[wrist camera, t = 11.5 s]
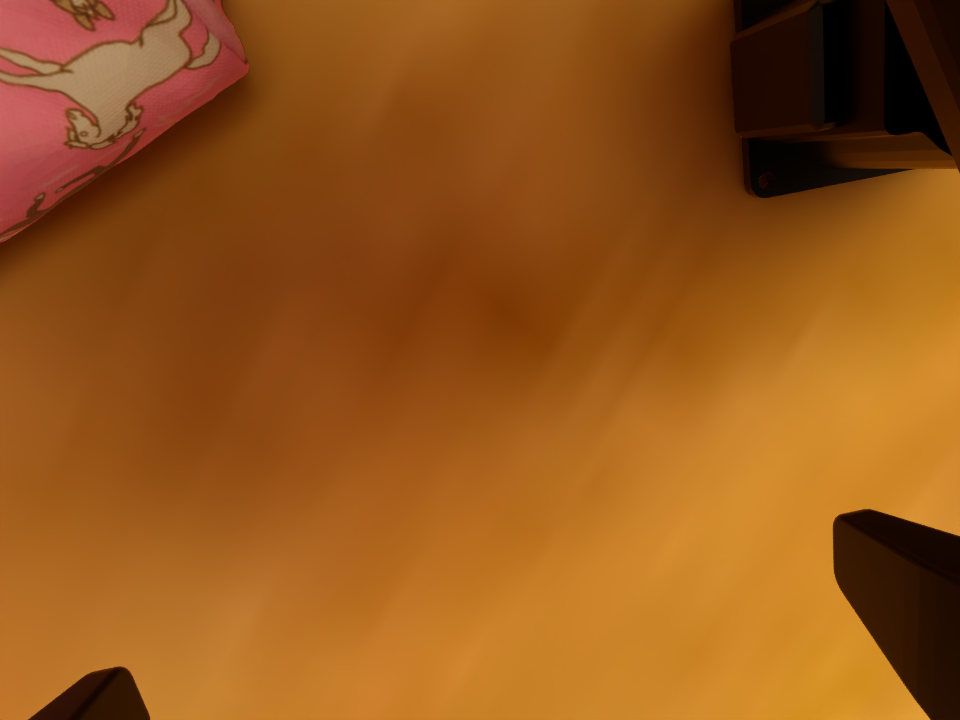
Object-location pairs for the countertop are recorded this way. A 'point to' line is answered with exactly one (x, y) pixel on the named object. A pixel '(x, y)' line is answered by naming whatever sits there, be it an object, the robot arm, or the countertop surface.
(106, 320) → the countertop surface
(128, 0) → the pencil case
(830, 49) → the robot arm
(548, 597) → the countertop surface
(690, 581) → the countertop surface
